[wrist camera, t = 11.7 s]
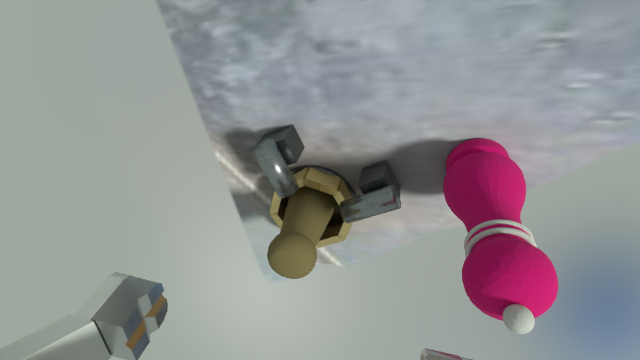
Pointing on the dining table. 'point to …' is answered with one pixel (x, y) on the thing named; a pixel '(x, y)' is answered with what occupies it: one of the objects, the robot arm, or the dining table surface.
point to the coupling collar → (325, 183)
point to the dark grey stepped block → (279, 159)
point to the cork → (301, 232)
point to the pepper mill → (497, 236)
